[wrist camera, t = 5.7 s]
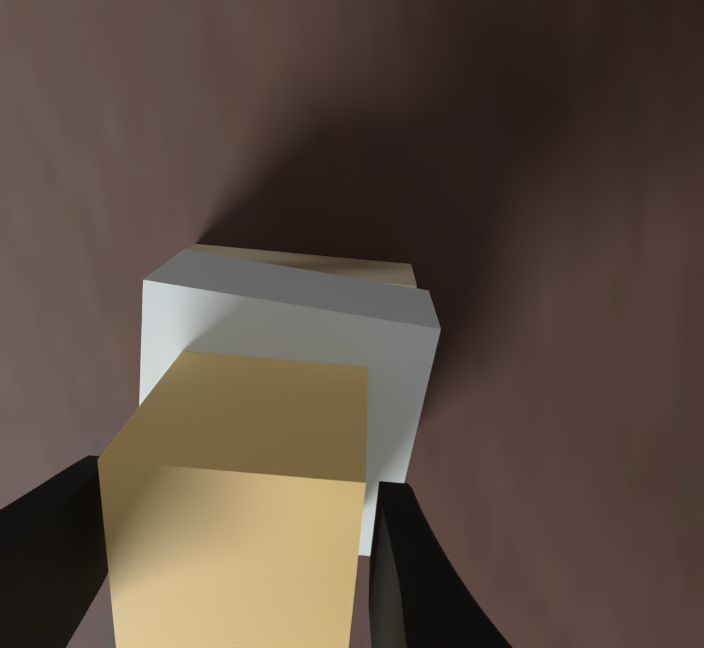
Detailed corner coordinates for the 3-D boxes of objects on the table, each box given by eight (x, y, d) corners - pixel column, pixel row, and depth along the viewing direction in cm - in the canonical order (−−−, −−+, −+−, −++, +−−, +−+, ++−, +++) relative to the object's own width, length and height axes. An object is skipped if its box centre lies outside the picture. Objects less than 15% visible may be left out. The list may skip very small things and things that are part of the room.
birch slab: (409, 259, 19) (416, 285, 16) (386, 438, 21) (389, 488, 18) (201, 239, 19) (171, 262, 16) (202, 421, 21) (176, 468, 18)
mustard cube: (367, 366, 14) (365, 482, 9) (352, 516, 15) (345, 673, 11) (182, 350, 14) (97, 459, 9) (187, 502, 15) (116, 653, 11)
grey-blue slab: (428, 290, 16) (441, 329, 13) (383, 490, 18) (386, 558, 16) (183, 249, 16) (143, 279, 13) (171, 457, 18) (135, 520, 15)
